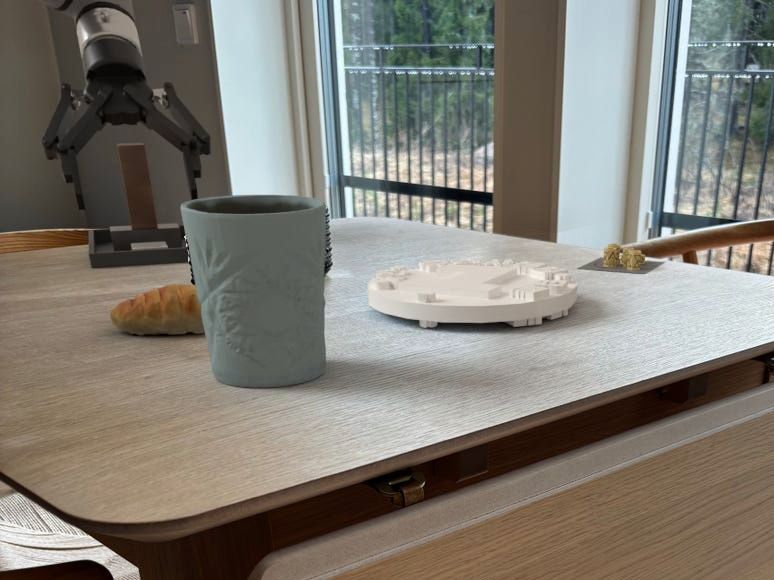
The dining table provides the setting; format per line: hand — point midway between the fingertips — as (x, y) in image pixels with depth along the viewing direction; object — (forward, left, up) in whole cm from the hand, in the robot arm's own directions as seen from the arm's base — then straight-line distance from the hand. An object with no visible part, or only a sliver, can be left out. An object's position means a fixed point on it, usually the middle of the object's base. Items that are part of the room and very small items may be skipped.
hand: (138, 199), depth 121 cm
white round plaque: (+43, -33, -6) cm, 55 cm away
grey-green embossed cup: (+29, -56, -6) cm, 63 cm away
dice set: (+59, -10, -6) cm, 60 cm away
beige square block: (+5, -11, -5) cm, 13 cm away
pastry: (+17, -42, -6) cm, 46 cm away
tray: (+2, -6, -6) cm, 9 cm away
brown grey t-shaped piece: (+2, -4, -5) cm, 7 cm away
